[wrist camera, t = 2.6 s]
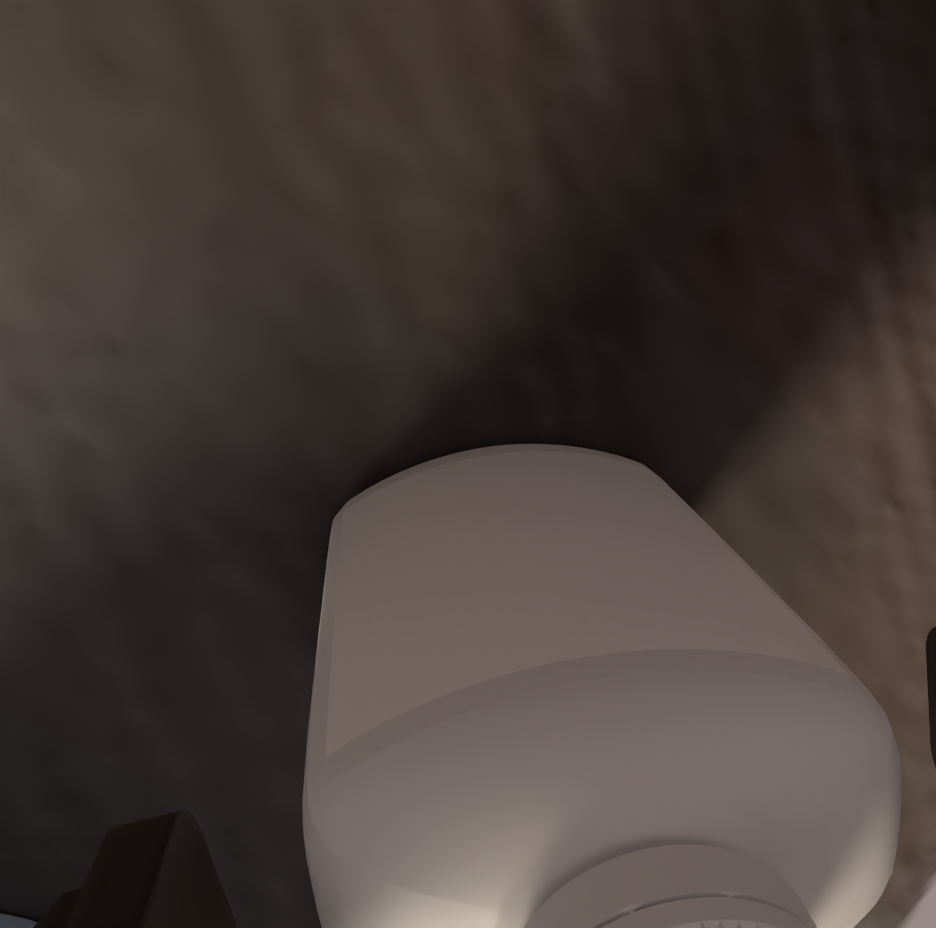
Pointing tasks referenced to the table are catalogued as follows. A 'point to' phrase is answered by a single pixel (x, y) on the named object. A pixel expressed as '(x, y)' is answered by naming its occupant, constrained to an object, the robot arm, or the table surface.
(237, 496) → the table surface
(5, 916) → the blue-grey pot
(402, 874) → the eye dropper bottle
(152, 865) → the robot arm
